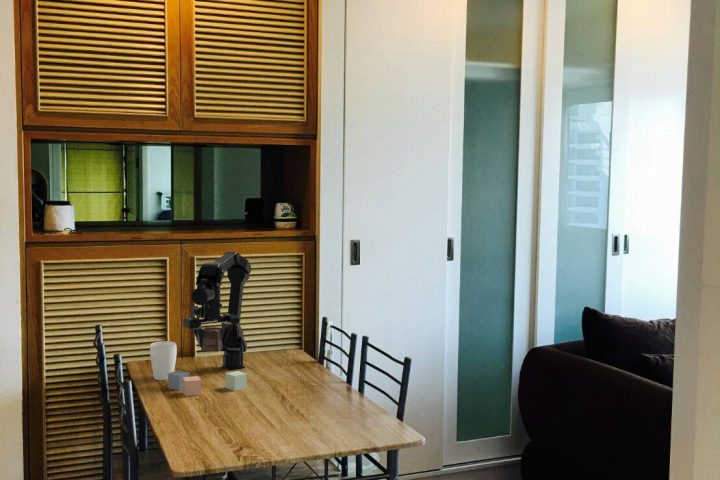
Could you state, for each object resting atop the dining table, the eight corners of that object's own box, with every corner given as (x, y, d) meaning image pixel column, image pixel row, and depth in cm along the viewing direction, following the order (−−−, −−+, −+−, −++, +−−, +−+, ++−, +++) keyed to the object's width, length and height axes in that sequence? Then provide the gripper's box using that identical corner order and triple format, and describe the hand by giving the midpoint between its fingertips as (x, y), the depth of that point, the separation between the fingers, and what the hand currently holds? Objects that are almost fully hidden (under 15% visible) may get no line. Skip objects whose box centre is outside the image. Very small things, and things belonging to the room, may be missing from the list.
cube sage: (237, 385, 270) (237, 370, 270) (246, 388, 267) (246, 373, 267) (225, 388, 267) (225, 373, 266) (234, 391, 263) (234, 376, 263)
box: (223, 348, 276) (223, 327, 276) (218, 352, 270) (218, 330, 270) (205, 347, 277) (205, 326, 276) (200, 351, 271) (200, 330, 270)
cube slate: (178, 384, 270) (178, 370, 269) (189, 386, 268) (189, 372, 267) (168, 388, 266) (167, 373, 265) (179, 390, 263) (179, 375, 263)
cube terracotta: (198, 391, 263) (198, 376, 262) (200, 395, 258) (200, 380, 258) (182, 392, 261) (182, 377, 261) (185, 396, 256) (185, 381, 256)
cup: (173, 381, 273) (173, 347, 272) (147, 381, 274) (146, 346, 273) (179, 374, 282) (179, 341, 281) (154, 374, 283) (154, 340, 282)
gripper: (225, 294, 284) (225, 338, 286) (176, 299, 273) (176, 344, 275) (240, 299, 275) (240, 343, 277) (190, 304, 264) (190, 350, 266)
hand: (211, 345), depth 274 cm, fingers closed on box, 8 cm apart
